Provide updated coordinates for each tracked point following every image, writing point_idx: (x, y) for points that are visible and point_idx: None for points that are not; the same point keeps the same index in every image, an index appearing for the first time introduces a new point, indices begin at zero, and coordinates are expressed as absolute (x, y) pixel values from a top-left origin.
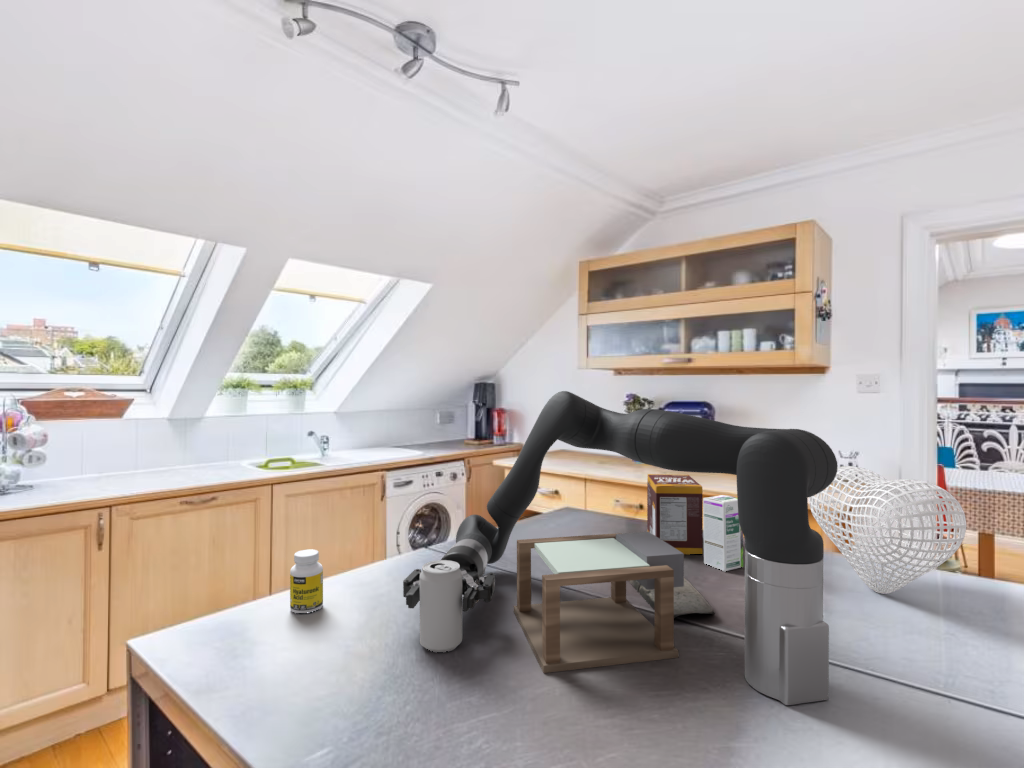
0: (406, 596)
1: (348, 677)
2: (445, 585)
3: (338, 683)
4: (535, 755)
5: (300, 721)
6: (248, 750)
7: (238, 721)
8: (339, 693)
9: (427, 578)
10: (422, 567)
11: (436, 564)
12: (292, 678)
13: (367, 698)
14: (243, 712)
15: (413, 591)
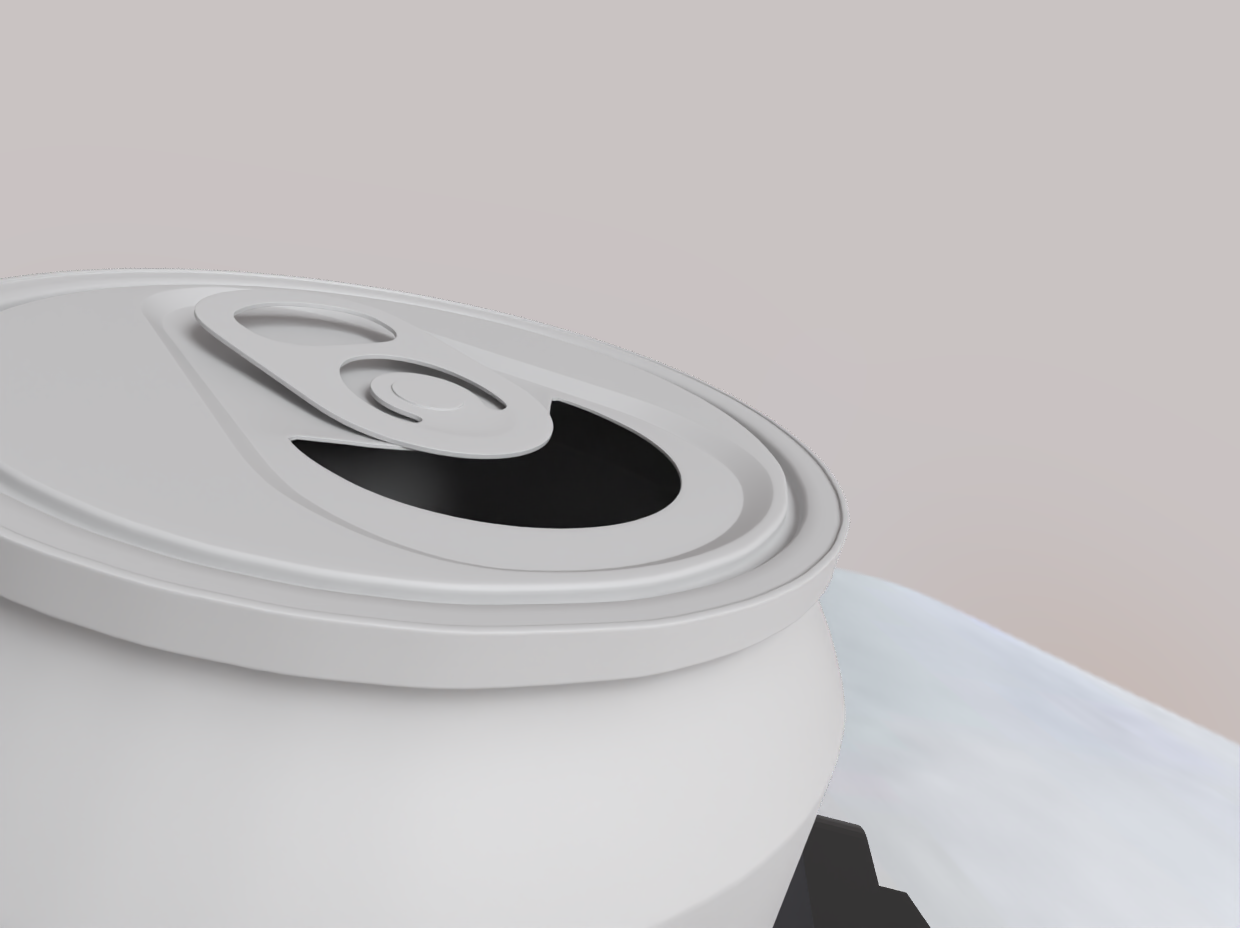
0: (895, 901)
1: (906, 875)
2: (338, 448)
3: (918, 832)
4: None
5: (881, 657)
6: (926, 600)
7: (1078, 693)
8: (856, 762)
9: (617, 441)
10: (800, 447)
11: (551, 751)
12: (1191, 909)
13: None
14: (1115, 726)
15: (835, 890)
